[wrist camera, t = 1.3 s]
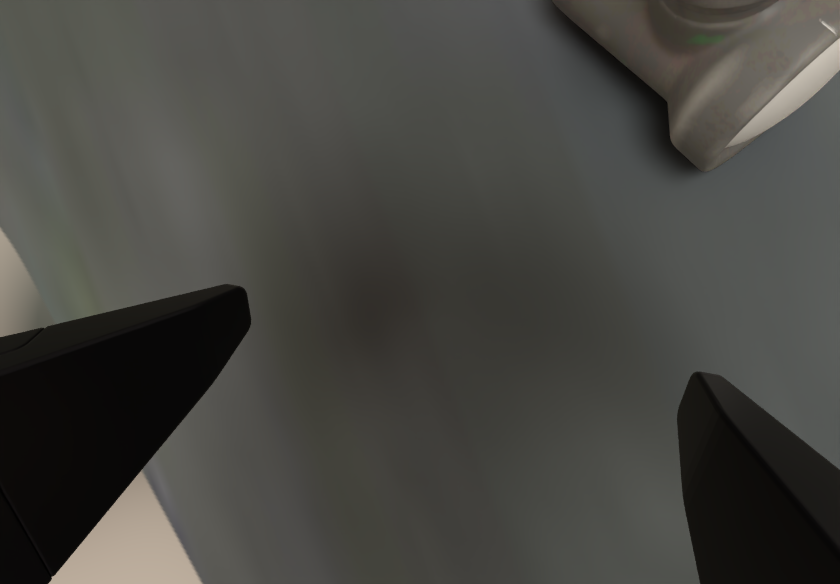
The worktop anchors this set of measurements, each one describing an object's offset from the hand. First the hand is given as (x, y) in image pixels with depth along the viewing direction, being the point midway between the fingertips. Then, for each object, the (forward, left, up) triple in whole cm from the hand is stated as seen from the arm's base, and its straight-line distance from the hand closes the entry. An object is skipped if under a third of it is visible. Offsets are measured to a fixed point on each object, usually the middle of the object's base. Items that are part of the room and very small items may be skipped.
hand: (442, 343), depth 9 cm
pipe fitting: (+13, -7, -16) cm, 22 cm away
